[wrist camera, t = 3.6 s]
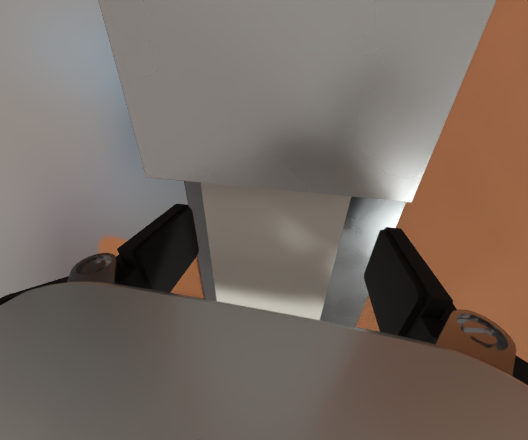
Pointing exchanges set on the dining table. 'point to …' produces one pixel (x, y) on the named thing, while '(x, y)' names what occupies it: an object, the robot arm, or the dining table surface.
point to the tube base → (295, 104)
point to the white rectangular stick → (273, 246)
